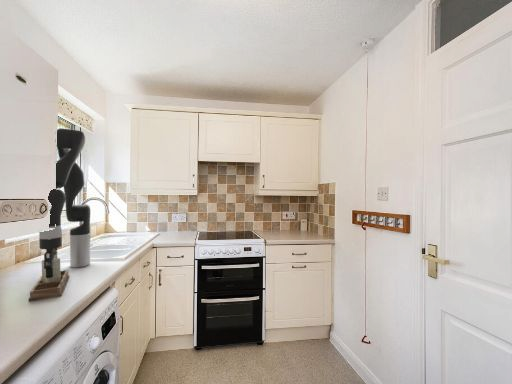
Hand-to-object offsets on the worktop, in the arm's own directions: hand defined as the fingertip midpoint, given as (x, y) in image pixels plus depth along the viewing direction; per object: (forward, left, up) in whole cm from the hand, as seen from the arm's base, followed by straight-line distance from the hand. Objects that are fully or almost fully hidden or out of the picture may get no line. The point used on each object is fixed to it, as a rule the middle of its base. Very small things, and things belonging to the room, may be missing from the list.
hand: (51, 274), depth 113 cm
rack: (0, 0, -6) cm, 6 cm away
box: (0, 0, -5) cm, 5 cm away
